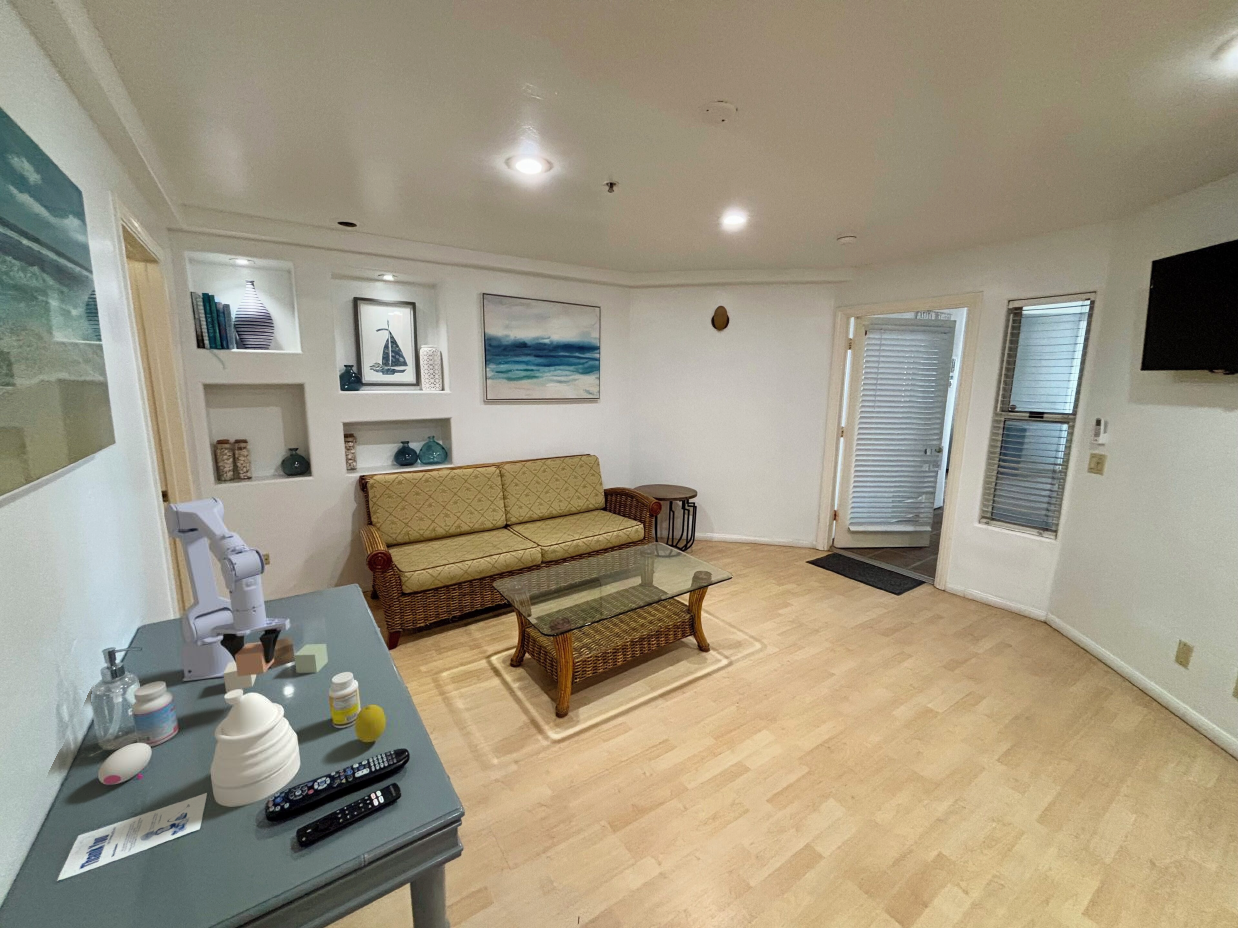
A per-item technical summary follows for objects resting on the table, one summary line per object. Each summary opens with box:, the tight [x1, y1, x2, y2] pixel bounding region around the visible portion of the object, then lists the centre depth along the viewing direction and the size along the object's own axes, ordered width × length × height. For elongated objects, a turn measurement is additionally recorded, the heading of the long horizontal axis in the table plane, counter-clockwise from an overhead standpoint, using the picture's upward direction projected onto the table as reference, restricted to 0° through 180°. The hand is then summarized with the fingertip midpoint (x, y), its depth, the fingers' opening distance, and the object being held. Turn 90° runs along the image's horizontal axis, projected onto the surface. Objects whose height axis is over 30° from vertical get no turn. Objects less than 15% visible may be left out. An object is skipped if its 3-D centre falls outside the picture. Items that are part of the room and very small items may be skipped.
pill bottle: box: [131, 680, 179, 747], centre depth 98 cm, size 6×6×11 cm
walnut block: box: [270, 636, 295, 669], centre depth 126 cm, size 5×5×5 cm
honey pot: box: [209, 689, 301, 808], centre depth 88 cm, size 13×13×18 cm
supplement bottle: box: [328, 671, 362, 729], centre depth 103 cm, size 6×6×10 cm
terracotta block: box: [235, 641, 274, 676], centre depth 108 cm, size 5×5×5 cm
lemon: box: [354, 704, 387, 743], centre depth 97 cm, size 6×6×8 cm
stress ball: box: [97, 742, 153, 786], centre depth 89 cm, size 8×8×7 cm
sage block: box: [294, 643, 329, 674], centre depth 124 cm, size 5×5×5 cm
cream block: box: [223, 662, 257, 694], centre depth 117 cm, size 5×5×5 cm
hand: (255, 662), depth 109 cm, fingers closed on terracotta block, 5 cm apart
